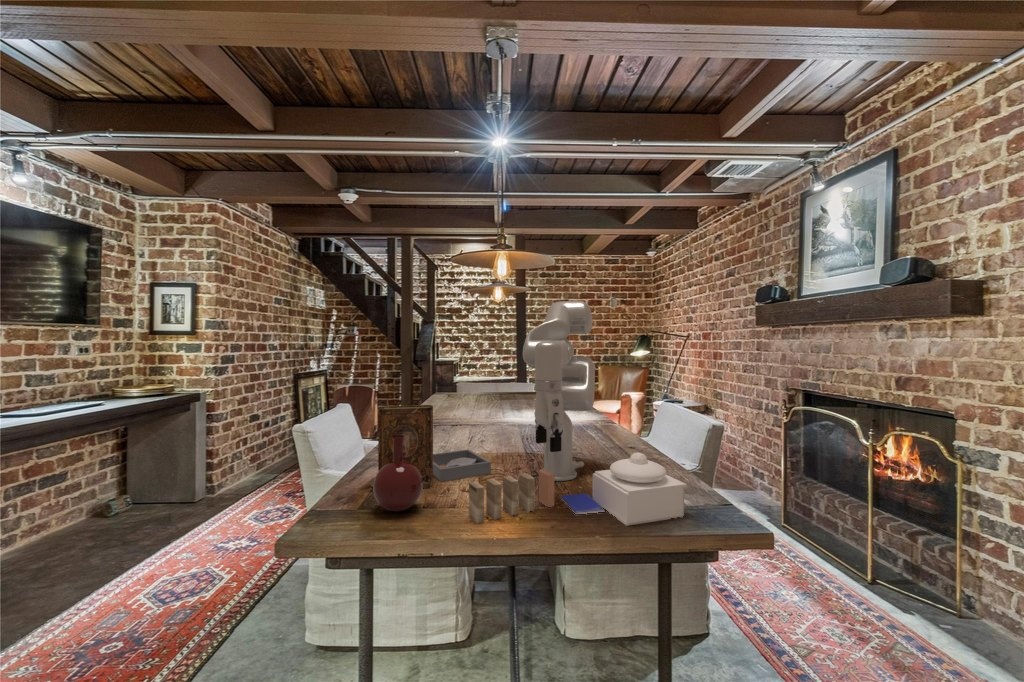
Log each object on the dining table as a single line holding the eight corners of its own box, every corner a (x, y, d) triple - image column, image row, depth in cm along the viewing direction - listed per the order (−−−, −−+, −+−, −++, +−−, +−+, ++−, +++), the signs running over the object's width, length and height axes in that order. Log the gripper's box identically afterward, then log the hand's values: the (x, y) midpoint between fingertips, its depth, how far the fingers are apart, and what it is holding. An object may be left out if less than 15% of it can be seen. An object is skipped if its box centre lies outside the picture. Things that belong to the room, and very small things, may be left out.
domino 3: (509, 508, 127) (509, 475, 127) (518, 514, 122) (518, 481, 122) (502, 509, 126) (502, 476, 126) (511, 516, 121) (511, 482, 121)
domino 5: (544, 500, 132) (544, 469, 132) (554, 506, 128) (554, 474, 128) (538, 502, 131) (538, 470, 131) (548, 508, 127) (548, 475, 127)
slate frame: (468, 459, 174) (468, 449, 174) (490, 473, 157) (490, 462, 157) (422, 466, 166) (422, 455, 165) (440, 481, 149) (440, 469, 149)
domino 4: (525, 505, 129) (525, 473, 129) (534, 511, 125) (534, 478, 125) (518, 506, 128) (518, 474, 128) (528, 512, 124) (528, 479, 124)
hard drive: (604, 509, 124) (587, 493, 136) (575, 511, 122) (560, 495, 134) (604, 514, 124) (587, 498, 136) (575, 517, 122) (560, 500, 134)
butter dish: (592, 502, 132) (592, 446, 132) (646, 495, 138) (646, 441, 138) (626, 526, 116) (627, 463, 115) (686, 517, 121) (686, 457, 121)
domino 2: (493, 511, 124) (493, 478, 124) (501, 518, 120) (501, 483, 120) (486, 513, 123) (486, 479, 123) (494, 519, 119) (494, 485, 119)
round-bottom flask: (363, 510, 125) (363, 436, 125) (404, 497, 135) (404, 429, 135) (391, 524, 116) (391, 445, 116) (432, 509, 126) (432, 436, 126)
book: (432, 482, 148) (432, 404, 148) (433, 488, 143) (433, 407, 142) (379, 485, 145) (379, 406, 144) (378, 491, 140) (377, 409, 139)
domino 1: (476, 515, 122) (476, 481, 122) (484, 522, 118) (484, 487, 117) (468, 516, 121) (468, 482, 121) (476, 523, 117) (476, 488, 116)
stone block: (444, 481, 155) (472, 476, 154) (441, 467, 155) (470, 462, 154) (452, 472, 167) (478, 467, 166) (449, 459, 167) (476, 454, 166)
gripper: (574, 389, 122) (574, 453, 123) (547, 382, 139) (547, 438, 139) (548, 390, 120) (548, 456, 120) (524, 383, 136) (524, 441, 137)
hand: (548, 447), depth 130 cm, fingers open, 9 cm apart
